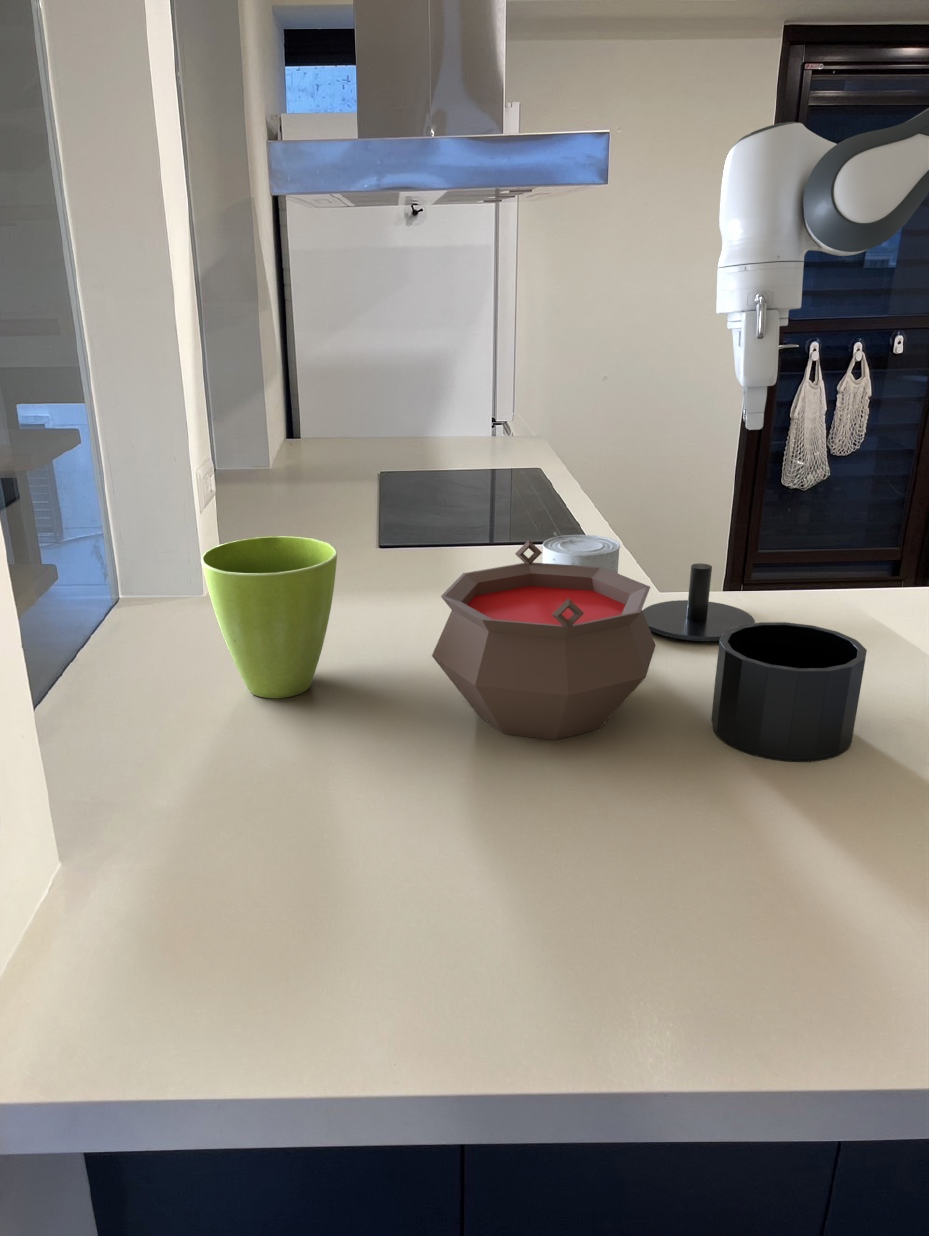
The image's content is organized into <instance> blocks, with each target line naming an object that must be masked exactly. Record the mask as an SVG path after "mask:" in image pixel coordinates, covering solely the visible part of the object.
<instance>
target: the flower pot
mask: <svg viewBox="0 0 929 1236" xmlns="http://www.w3.org/2000/svg"><path fill="white" fill-rule="evenodd" d="M337 560H338V550H337V548H336V547H335V546H334V545H332V544H330V543H329V542H326V541H323V540H320V539H316V538H309V537H303V536H290V535H289V536H288V535H286V536H285V535H282V536H260V537H252V538H245V539H239V540H233V541H229V542H226V543H222V544H219V545H216V546H214V547H212V548H210V549H208V550H206V551H205V552H204V553H203V554H202V555H201V557H200V562H201V566H202V567H201V568H202V570H203V574H204V578H205V583H206V587H207V591H208V594H209V597H210V600H211V604H212V608H213V611H214V614H215V618H216V620H217V623H218V626H219V628H220V631H221V635H222V637H223V639H224V641H225V644H226V646H227V649H228V652H229V654H230V656H231V658H232V661H233V662H234V665H235V667H236V668H237V671H238V673H239V675H240V677H241V679H242V682H243V683H244V685H245V686H246V689H247V691H248V692H249V693H251V694H252V695H253V696H257V697H259V698H265V699H284V698H290V697H295V696H298V695H301V694H303V693H304V692H306V691H307V690H308V689H309V688H310V687H311V685H312V683H313V680H314V677H315V675H316V674H315V673H316V671H317V667H318V664H319V662H320V661H319V660H320V658H321V654H322V650H323V647H324V642H325V638H326V633H327V631H328V626H329V625H328V624H329V620H330V615H331V611H332V610H331V609H332V605H333V598H334V597H333V596H334V590H335V584H336V583H335V581H336V573H337Z"/></svg>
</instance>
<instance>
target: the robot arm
mask: <svg viewBox="0 0 929 1236" xmlns="http://www.w3.org/2000/svg"><path fill="white" fill-rule="evenodd" d="M720 189H721V190H720V197H719V198H720V200H719V216H718V217H719V219H718V220H719V221H718V224H719V225H718V226H719V232H720V235H721V252H720V255H719V259H718V262H717V272H716V273H717V275H716V276H717V277H716V307H715V313H716V314H717V315H726V316H727V322H726V323H727V326H726V329H727V330H731V331H732V345H733V358H734V359H733V361H734V369H735V371H734V372H735V378H736V380H737V382H738V383H739V385H740V386H741V387H742V398H743V399H742V402H743V403H742V405H743V412H742V414H743V415H742V419H743V422H744V423H745V428H746V429H747V430H748V431H757V430H758V431H759V430H762V429H763V427H764V423H765V421H764V420H765V409H766V404H767V397H768V387H772V386H774V385H776V383H777V378H778V369H779V349H780V347H779V346H780V327H787V326H788V325H789V313H790V311H791V310H799V309H801V308H802V300H803V299H802V298H803V281H804V266H805V256H806V254H807V252H808V251H812V252H813V251H814V252H820V253H826V254H829V255H832V256H840V257H846V256H855V255H858V254H861V253H863V252H866V251H867V250H871V249H874V248H876V247H878V246H880V245H883V244H884V243H886V242H887V241H888V240H890V239H892V238H893V237H894V236H895V235H896V234H897V233H899V232H900V230H902V228H903V227H905V225H906V224H907V223H908V221H909V220H910V219H911V218H912V216H913V215H914V213H916V211H917V209H918V208H919V207H920V205H921V204H922V203H923V201H924V200H925V198H926V197H927V196H928V195H929V107H928V108H926V109H924V110H923V111H922V112H920V113H919V114H916V115H915V116H914V117H911V119H908V120H906V121H905V122H902V123H900V124H897V125H893V126H890V127H886V128H881V129H876V130H871V131H867V132H863V133H859V134H856V135H853V136H851V137H850V136H849V137H848V138H846V139H844V140H842V141H840V142H838V143H836V142H833V141H830V140H828V139H825V138H823V137H822V136H820V135H818V134H816V133H814V132H813V131H811V130H810V129H808V128H807V127H806V126H805V125H804V124H803V123H802V122H796V121H786V122H780V123H775V124H772V125H768V126H765V127H762V128H759V129H756V130H753V131H751V132H750V133H748V134H745V135H744V136H742V137H740V139H738V141H737V142H736V143H735V144H734V145H733V147H731V149H730V150H729V152H728V154H727V157H726V159H725V163H724V168H723V174H722V180H721V188H720Z"/></svg>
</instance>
